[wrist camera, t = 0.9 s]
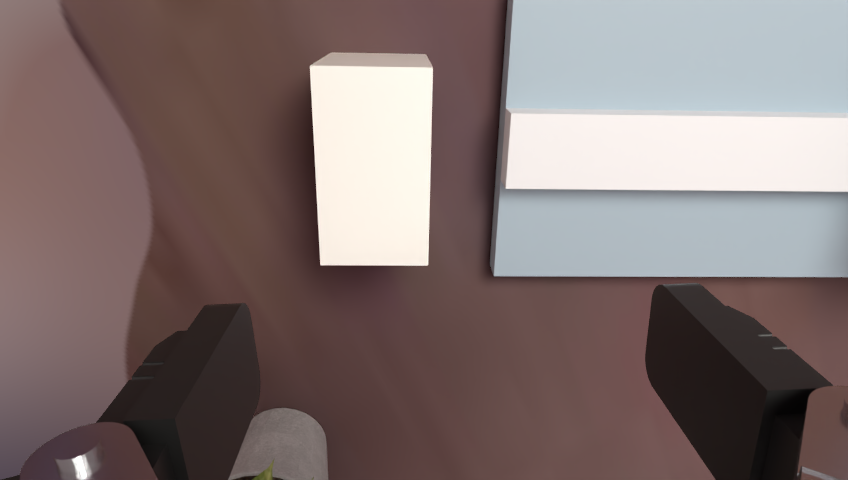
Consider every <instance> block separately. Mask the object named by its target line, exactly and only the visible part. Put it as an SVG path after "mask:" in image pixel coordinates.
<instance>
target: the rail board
mask: <svg viewBox="0 0 848 480" xmlns="http://www.w3.org/2000/svg"><path fill="white" fill-rule="evenodd" d="M490 267H491V270H492V272H493V275H494V276H595V277H848V0H508V3H507V18H506V33H505V47H504V62H503V77H502V92H501V106H500V121H499V136H498V151H497V165H496V180H495V195H494V210H493V225H492V239H491V254H490Z"/></svg>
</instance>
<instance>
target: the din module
mask: <svg viewBox="0 0 848 480" xmlns="http://www.w3.org/2000/svg"><path fill="white" fill-rule="evenodd" d="M310 79H311V97H312V116H313V135H314V154H315V173H316V192H317V211H318V230H319V249H320V265H408V266H428V250H429V208H430V166H431V124H432V82H433V67H432V65H431V63H430V61H429V59H428V57H427V55H426V54H388V53H330V54H328V55H326V56H325V57H323V58H321V59H320V60H318V61H317V62H315V63H313V64H312V65H310Z"/></svg>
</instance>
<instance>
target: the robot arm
mask: <svg viewBox="0 0 848 480" xmlns="http://www.w3.org/2000/svg"><path fill="white" fill-rule="evenodd" d="M645 362H646V370H647V374H648V378H649V381H650V383H651V385H652V387H653V388H654V390H655V391H656V393H657V394H658V396H659V397H660V399H661V400H662V401H663V403H664V404H665V406H666V407H667V409H668V410H669V412H670V413H671V415H672V416H673V418H674V419H675V421H676V422H677V423H678V425H679V426H680V428H681V429H682V431H683V432H684V434H685V435H686V437H687V438H688V440H689V441H690V443H691V444H692V445H693V447H694V448H695V450H696V451H697V453H698V454H699V456H700V457H701V459H702V460H703V462H704V463H705V465H706V466H707V467H708V469H709V470H710V472H711V473H712V475H713V476H714V478H715V479H716V480H848V386H833V385H832V384H831V383H830V382H829V381H828V380H826V379H825V378H824V377H823V376H822V375H820V374H819V373H818V372H817V371H816V370H814V369H813V368H812V367H811V366H810V365H809V364H807V363H806V362H805V361H804V360H803V359H801V358H800V357H799V356H798V355H797V354H796V353H794V352H793V351H792V350H791V349H789V350H787V346H786V345H785V344H784V343H783V342H781V341H780V340H779V339H778V338H777V337H772V333H771V332H770V331H768V330H767V329H766V328H765V327H764V326H762V325H761V324H760V323H759V322H758V321H757V320H755V319H754V318H752V317H750V316H748V315H746V314H744V313H742V312H740V311H737V310H735V309H733V308H731V307H729V306H725V305H723V304H722V303H721V302H720V301H719V300H718V299H717V298H715V297H714V296H713V295H712V294H711V293H710V292H709V291H708V290H706V289H705V288H704V287H703V286H702V285H700V284H698V283H686V284H665V285H658V286H657V287H656V288H655V289H654V292H653V295H652V302H651V310H650V319H649V328H648V336H647V345H646V354H645ZM259 395H260V371H259V365H258V358H257V352H256V346H255V340H254V334H253V327H252V321H251V315H250V311H249V308H248V306H247V305H246V304H245V303H238V304H217V305H206V306H204V307H203V308H202V310H201V311H200V313H199V314H198V315H197V317H196V318H195V320H194V321H193V323H192V324H191V325H190V327H189V328H188V330H187V331H177V332H175V333H174V334H172V335H171V336H170V337H168V338H167V339H165V340H164V341H162V342H161V343H159V344H158V345H156V346H155V347H154V349H153V350H152V351H151V352H150V354H149V355H148V356H147V358H146V359H145V360H144V362H143V366H140V367H139V368H138V369H137V371H136V372H135V373H134V374H133V376H132V380H129V381H128V382H127V384H126V385H125V386H124V387H123V389H122V390H121V391H120V393H119V394H118V395H117V396H116V398H115V399H114V400H113V402H112V403H111V404H110V405H109V407H108V408H107V409H106V411H105V412H104V413H103V415H102V416H101V417H100V418H99V420H98V421H97V422H96V423H93V424H88V425H85V426H80V427H77V428H74V429H71V430H69V431H67V432H64V433H62V434H60V435H58V436H56V437H54V438H53V439H51V440H50V441H48V442H46V443H45V444H43V445H42V446H41V447H39V448H38V449H37V450H36V451H35V452H34V453H32V454H31V455H30V456H29V458H28V459H27V460H26V461H25V463H24V465H23V466H22V468H21V471H20V475H17V476H14V477H10V478H6V479H2V480H228V479H229V477H230V474H231V472H232V469H233V466H234V464H235V461H236V459H237V456H238V453H239V451H240V448H241V446H242V443H243V441H244V438H245V435H246V433H247V430H248V428H249V425H250V422H251V420H252V417H253V415H254V412H255V409H256V407H257V404H258V400H259Z"/></svg>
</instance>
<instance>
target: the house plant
mask: <svg viewBox="0 0 848 480" xmlns="http://www.w3.org/2000/svg"><path fill="white" fill-rule="evenodd" d="M228 480H328V462H327V443H326V435H325V433H324V431H323V429H322V427H321V426H320V424H319V423H318V422H317V421H316V420H315V419H314V418H312V417H311V416H309V415H308V414H306V413H304V412H301V411H298V410H296V409H289V408H273V409H270V410H267V411H263V412H261V413H260V414H258V415H256V416H254V418H253V419H252V420H251V422H250V425H249V428H248V430H247V433H246V435H245V438H244V441H243V443H242V446H241V448H240V451H239V453H238V456H237V459H236V461H235V464H234V466H233V469H232V472H231V474H230V477H229V479H228Z"/></svg>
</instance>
